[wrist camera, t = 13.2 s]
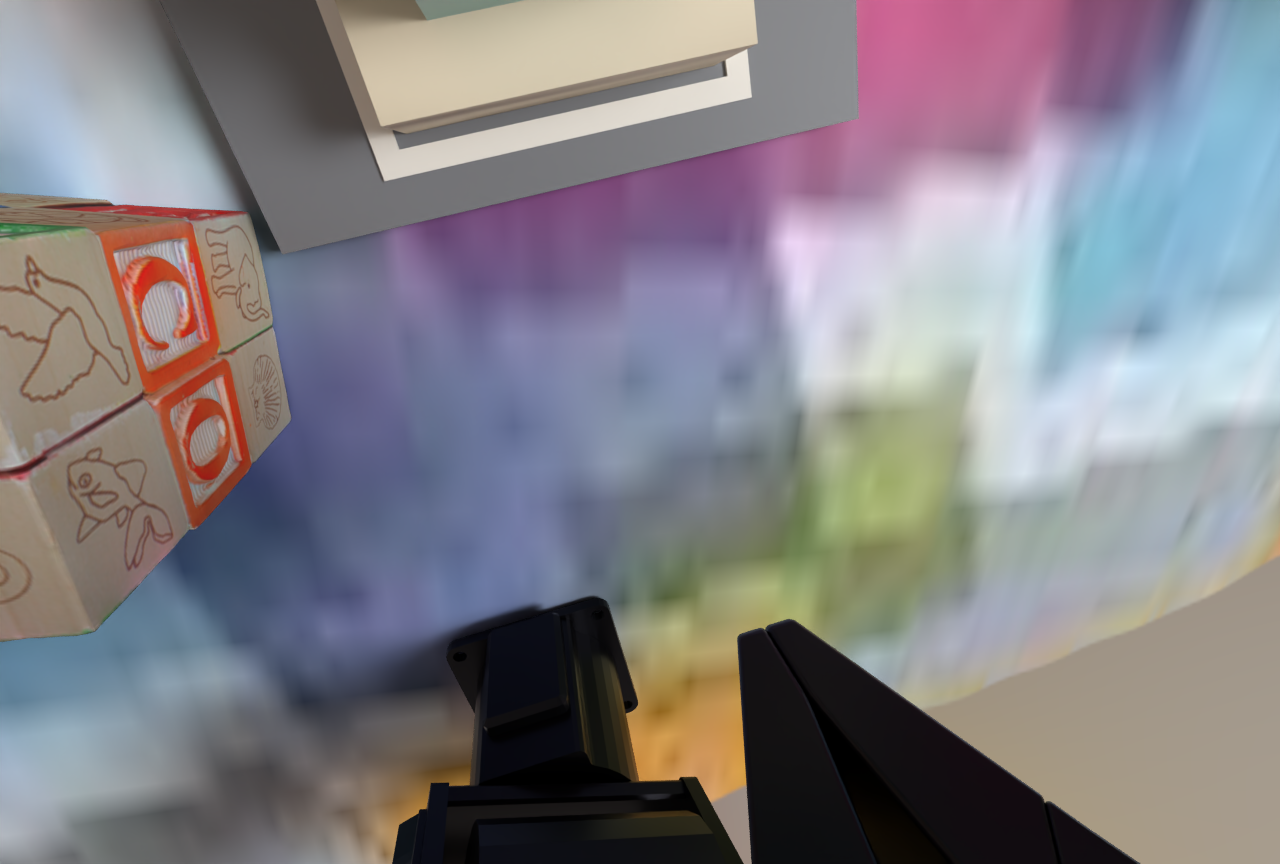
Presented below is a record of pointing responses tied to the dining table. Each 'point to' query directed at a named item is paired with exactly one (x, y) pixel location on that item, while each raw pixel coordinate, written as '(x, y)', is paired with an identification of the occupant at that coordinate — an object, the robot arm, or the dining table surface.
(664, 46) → the maple slab
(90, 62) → the dining table surface
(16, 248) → the stack of blocks
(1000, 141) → the dining table surface
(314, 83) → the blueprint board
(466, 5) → the teal cube
